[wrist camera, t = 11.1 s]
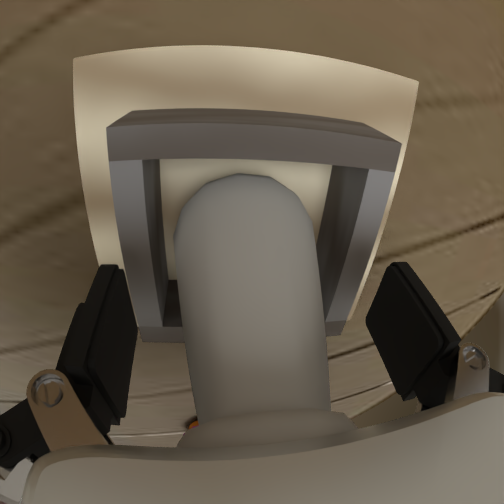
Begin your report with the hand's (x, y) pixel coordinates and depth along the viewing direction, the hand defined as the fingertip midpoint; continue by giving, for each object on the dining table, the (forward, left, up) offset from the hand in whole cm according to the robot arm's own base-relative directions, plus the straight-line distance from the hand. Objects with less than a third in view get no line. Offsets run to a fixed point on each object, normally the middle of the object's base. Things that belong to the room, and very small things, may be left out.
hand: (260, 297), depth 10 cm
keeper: (0, 0, -7) cm, 7 cm away
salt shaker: (0, 0, -6) cm, 6 cm away
